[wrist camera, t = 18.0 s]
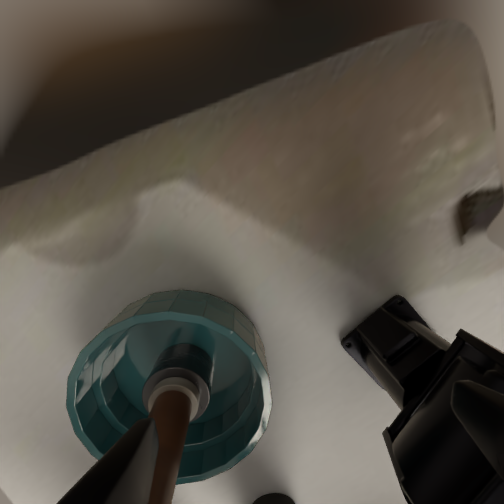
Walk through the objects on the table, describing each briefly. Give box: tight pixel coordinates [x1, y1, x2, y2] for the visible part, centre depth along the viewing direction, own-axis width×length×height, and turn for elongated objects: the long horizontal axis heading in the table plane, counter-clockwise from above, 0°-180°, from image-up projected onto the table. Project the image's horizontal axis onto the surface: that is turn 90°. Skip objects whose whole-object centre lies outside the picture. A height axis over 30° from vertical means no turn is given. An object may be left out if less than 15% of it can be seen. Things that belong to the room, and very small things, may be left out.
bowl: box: [66, 290, 272, 485], centre depth 19 cm, size 14×14×4 cm
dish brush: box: [142, 344, 214, 504], centre depth 15 cm, size 5×5×12 cm
